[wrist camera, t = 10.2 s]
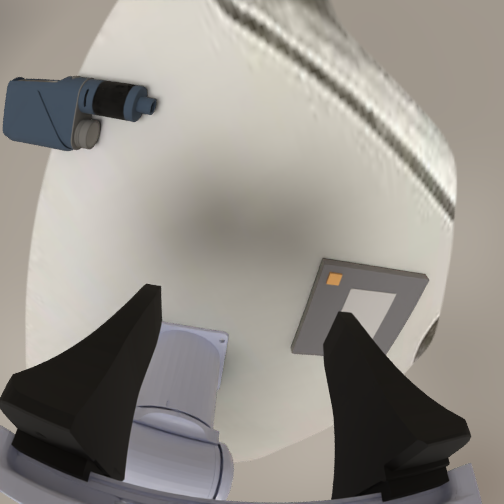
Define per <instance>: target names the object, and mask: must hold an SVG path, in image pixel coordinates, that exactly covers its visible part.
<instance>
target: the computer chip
mask: <svg viewBox="0 0 504 504" xmlns="http://www.w3.org/2000/svg"><path fill="white" fill-rule="evenodd" d="M428 282H429V279H428V277H427V276H426V275H425V274H419V273H413V272H406V271H400V270H394V269H387V268H381V267H375V266H368V265H362V264H356V263H349V262H343V261H336V260H330V259H322V262H321V265H320V268H319V271H318V274H317V277H316V280H315V283H314V286H313V289H312V292H311V295H310V297H309V300H308V303H307V306H306V309H305V311H304V314H303V317H302V320H301V322H300V325H299V328H298V330H297V333H296V336H295V338H294V341H293V343H292V346H291V351H292V353H293V354H306V355H320V356H324V355H323V343H324V341H325V339H326V337H327V335H328V333H329V331H330V328H331V326H332V324H333V322H334V320H335V318H336V315H337V313H338V311H341V312H351V313H352V314H353V315H354V316H355V317H356V318H357V320H358V321H359V322H360V323H361V325H362V326H363V327H364V329H365V330H366V331H367V332H368V334H369V335H370V336H371V338H372V339H373V340H374V341H375V343H376V344H377V345H378V346H379V348H380V349H381V350H382V351H383V353H384V354H385V355H386V354H387V352H388V351H389V349H390V348H391V346H392V345H393V343H394V341H395V340H396V338H397V337H398V335H399V333H400V332H401V330H402V328H403V327H404V325H405V323H406V322H407V320H408V318H409V317H410V315H411V313H412V311H413V309H414V308H415V306H416V304H417V302H418V300H419V299H420V297H421V295H422V293H423V291H424V289H425V287H426V285H427V283H428Z"/></svg>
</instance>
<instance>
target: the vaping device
mask: <svg viewBox="0 0 504 504" xmlns="http://www.w3.org/2000/svg"><path fill="white" fill-rule="evenodd" d="M5 101H6V102H5V109H4V118H3V133H4V135H5V136H7V137H8V138H9V139H11V140H13V141H17V142H23V143H29V144H34V145H39V146H44V147H49V148H54V149H59V150H63V151H71V150H78V149H80V148H85V149H91V148H93V147H94V145H95V144H96V142H97V140H98V137H99V133H100V124H99V122H98V121H97V120H91V118H92V114H94V115H99V116H105V117H111V118H116V119H121V120H126V121H131V122H136V121H137V120H138V119H139V118H140V117H141V115H142V113H143V114H148V115H152V114H153V112H154V110H155V107H156V99H153V98H148V97H147V89H146V87H144V86H138V85H132V84H126V83H119V82H112V81H104V80H96V79H94V78H83V77H80V76H73V77H72V76H69V77H67V78H64V79H63V80H46V79H24V78H22V77H18V78H15V79H13V80H12V81H10V82H9V84H8V87H7V93H6V100H5Z"/></svg>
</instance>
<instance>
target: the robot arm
mask: <svg viewBox="0 0 504 504" xmlns="http://www.w3.org/2000/svg"><path fill="white" fill-rule="evenodd" d="M221 339H223V340H224V341H222V340H221ZM227 342H228V333H226V332H224V331H217V330H211V329H204V328H198V327H191V326H185V325H180V324H174V323H168V322H163V321H162V308H161V286H157V285H151V284H145V285H144V286H143V287H142V288H141V289H140V290H139V291H138V292H137V293H136V294H135V295H134V296H133V297H132V298H131V299H130V300H129V301H128V302H127V303H126V304H125V305H124V306H123V307H122V308H121V309H120V310H119V311H117V312H116V313H115V314H114V315H113V316H112V317H111V318H110V319H109V320H107V321H106V322H105V323H104V324H103V325H101V326H100V327H99V328H98V329H97V330H95V331H94V332H93V333H91V334H90V335H89V336H87V337H86V338H85V339H83V340H82V341H80V342H79V343H77V344H76V345H74V346H73V347H71V348H69V349H68V350H66V351H64V352H63V353H61V354H59V355H58V356H56V357H54V358H52V359H50V360H48V361H46V362H43V363H41V364H39V365H37V366H34V367H32V368H29V369H27V370H24V371H21V372H19V373H16V374H13V375H12V377H11V378H10V380H9V382H8V383H7V385H6V388H5V389H4V391H3V393H2V395H1V397H0V409H1V410H2V412H3V413H4V414H5V415H6V417H7V418H8V419H9V420H10V421H11V422H12V423H13V424H14V425H15V426H16V427H17V431H16V434H14V433H12V432H11V431H9V430H8V429H6V428H5V427H3V426H1V425H0V492H2V493H3V494H5V495H6V496H8V497H10V498H11V499H13V500H14V501H16V502H18V503H19V504H482V501H481V497H480V493H479V489H478V486H477V482H476V478H475V475H474V472H473V468H472V464H471V463H468V464H465V465H463V466H460V467H457V468H454V469H452V470H450V471H448V472H447V470H446V466H448V465H449V459H448V457H450V456H451V455H452V454H454V453H455V452H456V451H458V450H459V449H460V448H462V447H463V446H464V445H466V443H467V442H468V441H469V440H470V438H471V434H470V431H469V428H468V426H467V423H466V421H465V419H463V418H462V417H460V416H458V415H456V414H454V413H453V412H451V411H449V410H447V409H446V408H444V407H443V406H441V405H440V404H438V403H437V402H435V401H434V400H433V399H431V398H430V397H429V396H427V395H426V394H425V393H424V392H422V391H421V390H420V389H419V388H418V387H416V386H415V385H414V384H413V383H412V382H411V381H410V380H409V379H408V378H407V377H406V376H404V374H403V373H402V372H401V371H400V370H399V369H398V368H397V367H396V366H395V365H394V364H393V363H392V362H391V361H390V359H389V358H388V357H387V356H386V355H385V354H384V353H383V351H382V350H381V349H380V348H379V346H378V345H377V344H376V343H375V341H374V340H373V339H372V338H371V336H370V335H369V334H368V332H367V331H366V330H365V329H364V327H363V326H362V325H361V323H360V322H359V321H358V320H357V318H356V317H355V316H354V315H353V314H352V313H351V312H341V311H338V313H337V315H336V318H335V320H334V322H333V324H332V326H331V328H330V331H329V333H328V335H327V337H326V339H325V341H324V343H323V355H324V367H325V372H326V378H327V383H328V388H329V393H330V398H331V404H332V409H333V417H334V434H335V465H334V481H333V491H332V498H331V500H324V501H311V502H294V503H293V502H289V503H258V502H238V501H225V500H226V498H227V497H228V494H229V492H230V489H231V485H232V480H233V472H234V464H233V458H232V455H231V453H230V451H229V449H228V447H227V446H226V444H224V443H220V442H219V431H217V430H214V429H213V425H214V415H215V405H216V396H217V390H218V389H219V388H220V383H221V378H222V372H223V366H224V360H225V354H226V348H227Z"/></svg>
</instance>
